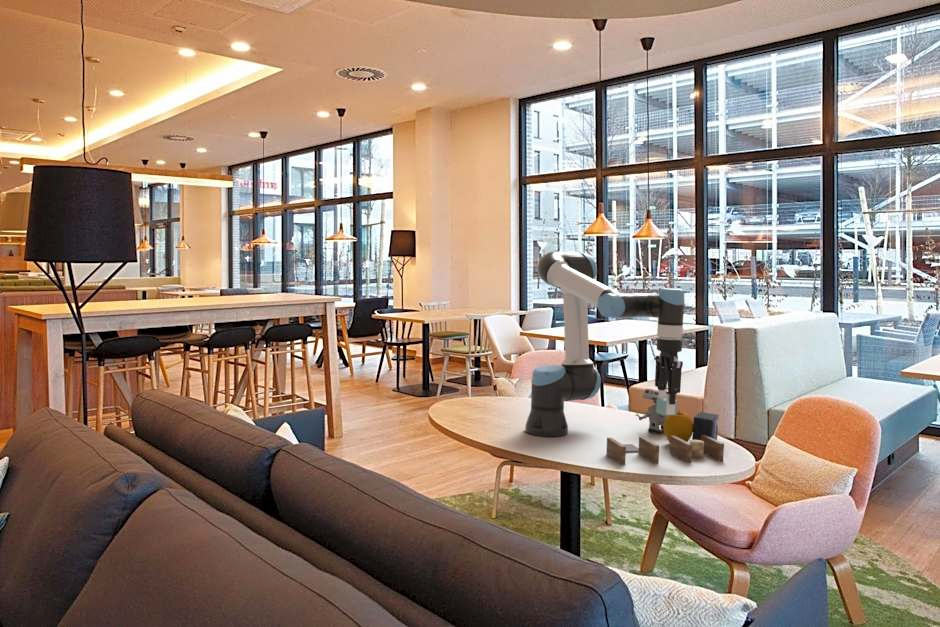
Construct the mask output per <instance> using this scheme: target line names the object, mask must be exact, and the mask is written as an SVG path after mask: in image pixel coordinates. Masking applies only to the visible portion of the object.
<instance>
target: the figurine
mask: <svg viewBox="0 0 940 627" xmlns="http://www.w3.org/2000/svg"><path fill="white" fill-rule="evenodd" d="M658 393H659V390H658V389H657V390H656V389H652V388H645V389H644V392H643V394H642V399H644V400H650V401H653V404H651V406H648V407H647V411H648V412H646V413H645V414H644V415H643V416H640V415H639V413H638V412H636V414H635V417H638V420H639V421H642V420H643V419H647V418H648V421H649V424H648V425H649V426H648V430H647V431H648V433H651V434H656V435H658V434H660V433H661V430H663V424H664V422H665V419H666V417H667V416H668V415H661V414H659V413H656V406H657V398H658ZM660 429H661V430H660Z"/></svg>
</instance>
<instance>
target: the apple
mask: <svg viewBox="0 0 940 627" xmlns="http://www.w3.org/2000/svg"><path fill="white" fill-rule="evenodd" d="M662 430H663V433H664V435H665V437H666V440H667V442H668V443H669V444H670V436H676V437H678V438H680V439H682V440H684V441H686V442H688V443H689V440H691V439H692V436H693V419H692V418H691V416H690V414H689V413H687V412H685V411H680V410H679V411H677V413H676V415H668V416H667V417H666V419H665V422H664V424H663V429H662Z"/></svg>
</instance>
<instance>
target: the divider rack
mask: <svg viewBox="0 0 940 627" xmlns="http://www.w3.org/2000/svg"><path fill="white" fill-rule="evenodd" d="M701 441H704V453H703V455H706V456H708V457H711V458H712V459H714V460H716V461H718V462H724V451H725V443H724V442H722V441H719V440H718V439H717V440H715V439H713V438H711V437H709V436H707V435H701ZM638 448H639V451H638V452H637V453H638V454H639V455H640V456H642V457H644V458H645V459H647V460H648V461H650V462H651V463H652V464H655V463H656V464H659V462H660V445H659V444H657V443H655V442H654V441H652V440H650V439H648V438H647V437H645V436H638ZM669 453H670V454H672V455H674V456H675V457H676V458H678V459H680V460H682V461H684V462H685V463H692V458H691V456H692V444H690V443H689V441H688V442H686V441H684V440H682V439H680V438H678V437H676V436H670V443H669ZM626 455H627V453H626V446H624V445H622V443H621V442H619V441H617V440H616V439H614V438H613V437H606V456H607V457H609V458H610V459H612V461H613V460H614V461H615V462H616V463H618V464H619V465H621V466H622V465H626V457H627V456H626Z"/></svg>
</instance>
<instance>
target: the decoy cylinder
mask: <svg viewBox="0 0 940 627" xmlns="http://www.w3.org/2000/svg"><path fill="white" fill-rule="evenodd" d="M688 443H690V444H692V456H691V459H695V458H696V459H697V460H698V459H700V460H701V458H702V459H703V458H704V441H701V440H692V439H689V441H688Z"/></svg>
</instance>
